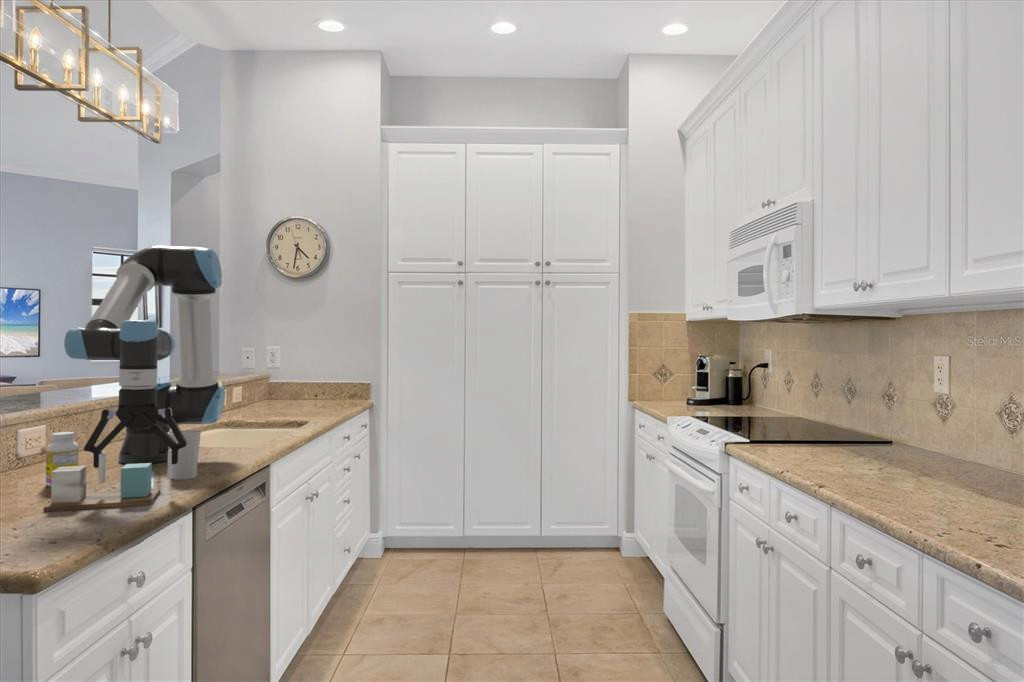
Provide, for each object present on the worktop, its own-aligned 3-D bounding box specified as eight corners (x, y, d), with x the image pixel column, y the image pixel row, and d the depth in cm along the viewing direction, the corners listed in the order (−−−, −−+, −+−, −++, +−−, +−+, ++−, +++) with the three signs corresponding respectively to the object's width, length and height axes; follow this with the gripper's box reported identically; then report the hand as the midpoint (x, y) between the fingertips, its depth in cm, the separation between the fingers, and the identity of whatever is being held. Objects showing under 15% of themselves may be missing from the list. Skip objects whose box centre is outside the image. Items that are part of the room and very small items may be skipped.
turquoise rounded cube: (125, 492, 145) (126, 464, 145) (151, 491, 147) (151, 462, 147) (120, 498, 141) (121, 468, 141) (146, 496, 142) (147, 467, 142)
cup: (186, 481, 163) (186, 434, 163) (159, 479, 165) (160, 433, 165) (206, 474, 171) (207, 430, 171) (181, 473, 173) (182, 429, 173)
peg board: (61, 498, 144) (61, 464, 144) (160, 492, 151) (160, 459, 151) (43, 511, 133) (44, 475, 133) (151, 504, 140) (152, 469, 140)
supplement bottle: (50, 482, 159) (50, 431, 159) (81, 480, 162) (82, 430, 162) (42, 488, 153) (43, 435, 153) (74, 486, 156) (75, 434, 156)
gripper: (68, 389, 136) (67, 487, 136) (197, 388, 145) (195, 480, 145) (78, 386, 143) (77, 480, 143) (200, 385, 152) (198, 473, 152)
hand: (136, 480), depth 144 cm, fingers open, 13 cm apart
